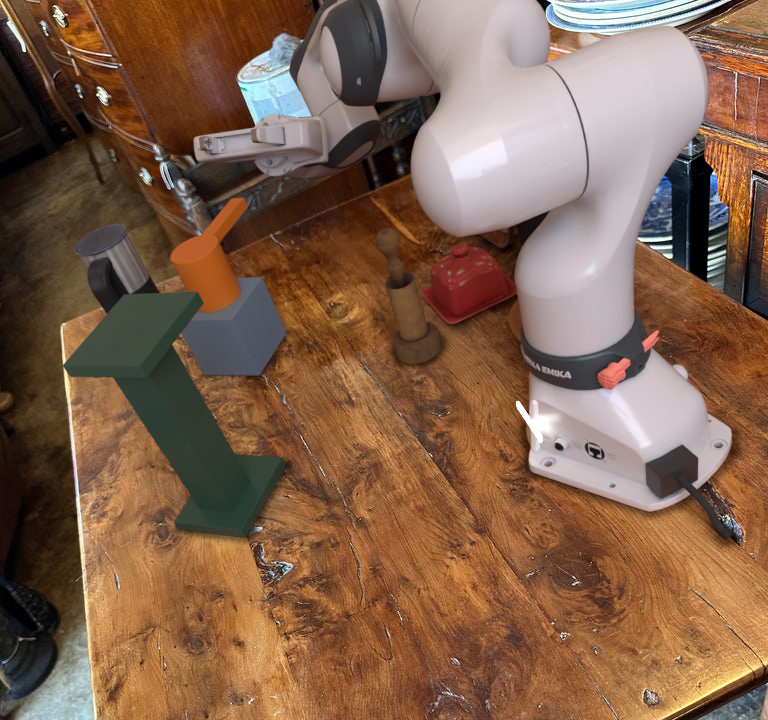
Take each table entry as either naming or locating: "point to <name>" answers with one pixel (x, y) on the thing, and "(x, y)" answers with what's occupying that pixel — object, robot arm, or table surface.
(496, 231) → the tin
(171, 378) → the shelf stand
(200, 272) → the measuring cup
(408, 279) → the mortar and pestle
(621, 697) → the table surface
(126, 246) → the milk frother
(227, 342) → the slate grey cube
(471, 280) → the butter dish
